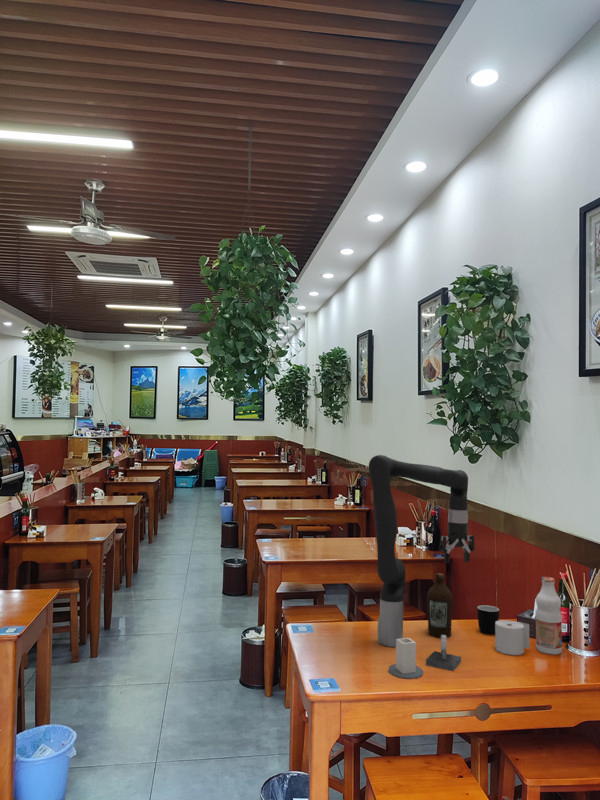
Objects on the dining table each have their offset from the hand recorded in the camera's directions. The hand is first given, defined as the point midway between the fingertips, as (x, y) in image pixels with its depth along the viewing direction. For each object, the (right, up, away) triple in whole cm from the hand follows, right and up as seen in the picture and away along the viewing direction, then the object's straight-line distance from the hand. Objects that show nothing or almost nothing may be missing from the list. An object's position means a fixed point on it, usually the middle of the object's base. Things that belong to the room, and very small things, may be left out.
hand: (456, 562), depth 223 cm
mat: (-25, -31, -24) cm, 47 cm away
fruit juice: (+36, -35, 0) cm, 50 cm away
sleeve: (-25, -31, -24) cm, 46 cm away
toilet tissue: (+21, -35, -1) cm, 40 cm away
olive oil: (-3, -35, +16) cm, 39 cm away
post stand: (-9, -32, -16) cm, 37 cm away
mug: (+19, -36, +22) cm, 46 cm away
